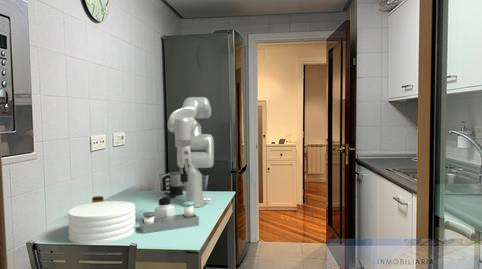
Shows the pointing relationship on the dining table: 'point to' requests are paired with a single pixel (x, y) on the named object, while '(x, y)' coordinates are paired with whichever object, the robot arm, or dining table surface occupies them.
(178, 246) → the dining table surface
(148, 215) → the knob
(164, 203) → the medicine bottle
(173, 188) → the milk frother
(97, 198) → the condiment
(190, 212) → the knob
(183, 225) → the mount
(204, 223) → the dining table surface
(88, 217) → the plate stack
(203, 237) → the dining table surface
